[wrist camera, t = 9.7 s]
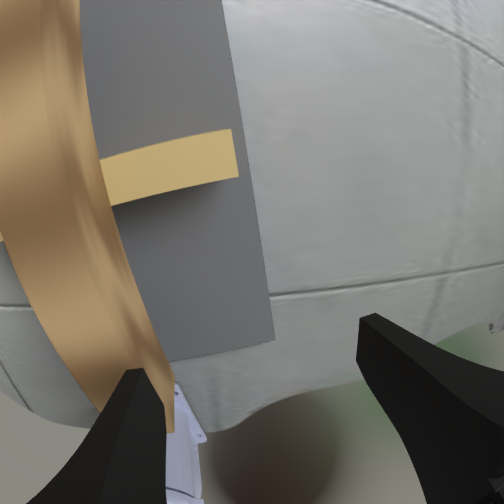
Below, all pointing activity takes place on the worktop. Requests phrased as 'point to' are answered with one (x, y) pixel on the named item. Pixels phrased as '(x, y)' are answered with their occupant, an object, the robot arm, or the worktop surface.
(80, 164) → the oak beam
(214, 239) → the ridge stand
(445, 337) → the worktop surface
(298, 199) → the worktop surface
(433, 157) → the worktop surface
